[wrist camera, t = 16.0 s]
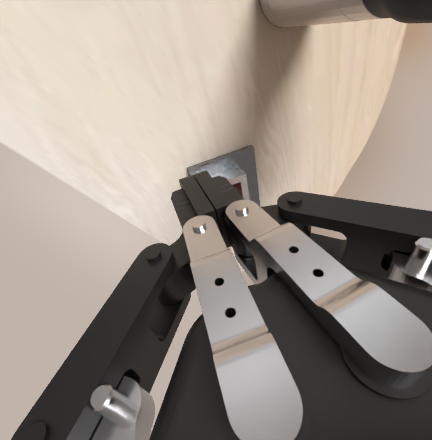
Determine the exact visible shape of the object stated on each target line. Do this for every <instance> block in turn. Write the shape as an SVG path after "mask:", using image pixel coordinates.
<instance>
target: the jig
mask: <svg viewBox="0 0 432 440" xmlns="http://www.w3.org/2000/svg"><path fill="white" fill-rule="evenodd" d="M187 169H188V173H189V176H191V175H194V174H196V173H199V172H202V171H205V170H207V171H208V173H209V174H210V175H211V177H212V178H213V177H216V176H222V177H224V178H226V179H227V180H228V181H229V182H230V184H232V185H233V186H234V188H235V189H236V190H237V191H238V192H239V194H240V195H241V196H242V197H243V198H244V199H245V200H251V201H253V202H255V203H256V204H257V205H258V206H260V201H259V192H258V183H257V173H256V164H255V155H254V147H253V146H248V147H245V148H242V149H239V150H236V151H234V152H231V153H228V154H225V155H222V156H219V157H216V158H214V159H211V160H208V161H205V162H202V163H199V164H196V165H194V166H191V167H188V168H187Z"/></svg>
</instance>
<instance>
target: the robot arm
mask: <svg viewBox="0 0 432 440" xmlns="http://www.w3.org/2000/svg"><path fill="white" fill-rule="evenodd" d="M259 1H260V5H261V8H262V10H263V12H264V14H265V16H266V17H267V19H268V20H269V21H270V22H271V23H273V24H274V25H276V26H279V27H295V26H307V25H318V24H329V23H340V22H351V21H360V20H370V19H381V18H393V19H394V20H396V21H399V22H403V23H432V0H259ZM179 182H180V185H181V188H182V189H180V190H177V191H175V192H173V193H172V197H171V200H172V203H173V205H174V208H175V211H176V213H177V216H178V218H179V221H180V223H181V226H182V228H183V232H182V235H181V236H180V238H179V239H178V240H177V241H176V242H174V243H173V244H172V245H170V246H168V245H167V244H163V243H158V244H153V245H151V246H148V247H147V248H145V249H144V250H143V251H142V252H141V253H140V254H139V255H138V257H137V258H136V259H135V261H134V262H133V264H132V265H131V267H130V268H129V270H128V271H127V272H126V274H125V275H124V277H123V278H122V280H121V281H120V283H119V284H118V285H117V287H116V288H115V290H114V291H113V293H112V294H111V295H110V297H109V298H108V300H107V301H106V303H105V304H104V305H103V307H102V308H101V310H100V311H99V313H98V314H97V316H96V317H95V319H94V320H93V321H92V323H91V324H90V326H89V327H88V328H87V330H86V331H85V333H84V334H83V336H82V337H81V338H80V340H79V341H78V343H77V344H76V346H75V347H74V349H73V350H72V351H71V353H70V354H69V356H68V357H67V359H66V360H65V361H64V363H63V364H62V366H61V367H60V369H59V370H58V372H57V373H56V375H55V376H54V377H53V379H52V380H51V382H50V383H49V384H48V386H47V387H46V389H45V390H44V392H43V393H42V395H41V396H40V398H39V399H38V400H37V402H36V403H35V405H34V406H33V407H32V409H31V410H30V412H29V413H28V415H27V416H26V418H25V419H24V420H23V422H22V423H21V425H20V426H19V428H18V429H17V431H16V432H15V434H14V435H13V437H12V439H11V440H432V211H426V210H419V209H412V208H405V207H398V206H391V205H385V204H379V203H372V202H364V201H358V200H351V199H345V198H338V197H332V196H325V195H318V194H311V193H305V192H288V193H285V194H283V195H281V196H280V197H279V198H278V201H277V204H278V205H272V206H265V207H260V206H258V205H257V204H256V203H255V202H253V201H251V200H245V199H244V198H243V197H242V196H241V195H240V194H239V192H238V191H237V190H236V189H235V188H234V187H233V186H232V184H230V182H229V181H228V180H227V179H226V178H224V177H222V176H216V177H213V178H212V177H211V175H210V174H209V173H208V171H207V170H205V171H202V172H199V173H196V174H194V175H191V176H188V177H185V178H182V179H180V180H179ZM311 226H315V227H319V228H324V229H329V230H334V231H338V232H341V233H343V234H344V235H345V236H346V238H347V239H346V240H340V239H336V238H331V237H327V236H323V235H318V234H314V233H311ZM231 246H232V247H233V249H234V253H235V257H236V259H237V261H238V262H239V263H240V265H241V266H242V267H243V269H244V270H245V271H246V273H247V274H248V275H249V277H250V278H251V280H252V281H253V282H254V284H255V285H251V286H247V284H246V282H245V280H244V277H243V275H242V273H241V271H240V269H239V267H238V265H237V262H236V260H235V258H234V256H233V254H232V252H231V250H230V249H227V248H228V247H231ZM195 289H197V293H198V297H199V301H200V305H201V309H202V313H203V314H202V315H201V316H200V317H199V318H198V319H197V320H196V321H195V323H194V324H193V326H192V327H191V329H190V330H189V333H188V334H187V336H186V339H185V341H184V344H183V347H182V350H181V352H180V355H179V358H178V361H177V364H176V367H175V370H174V372H173V375H172V378H171V380H170V383H169V386H168V389H167V391H166V394H165V397H164V400H163V403H162V405H161V408H160V411H159V414H158V416H157V419H156V422H155V425H154V428H153V431H152V433H151V436H150V432H151V427H152V424H153V420H154V415H155V405H154V401H153V398H152V396H151V395H150V394H149V393H150V391H151V388H152V386H153V384H154V381H155V379H156V377H157V374H158V372H159V370H160V368H161V365H162V363H163V361H164V358H165V356H166V354H167V351H168V349H169V347H170V344H171V342H172V339H173V338H174V335H175V332H176V331H177V328H178V326H179V323H180V321H181V319H182V317H183V314H184V312H185V310H186V307H187V305H188V303H189V301H190V297H191V292H192V291H193V290H195Z"/></svg>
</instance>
